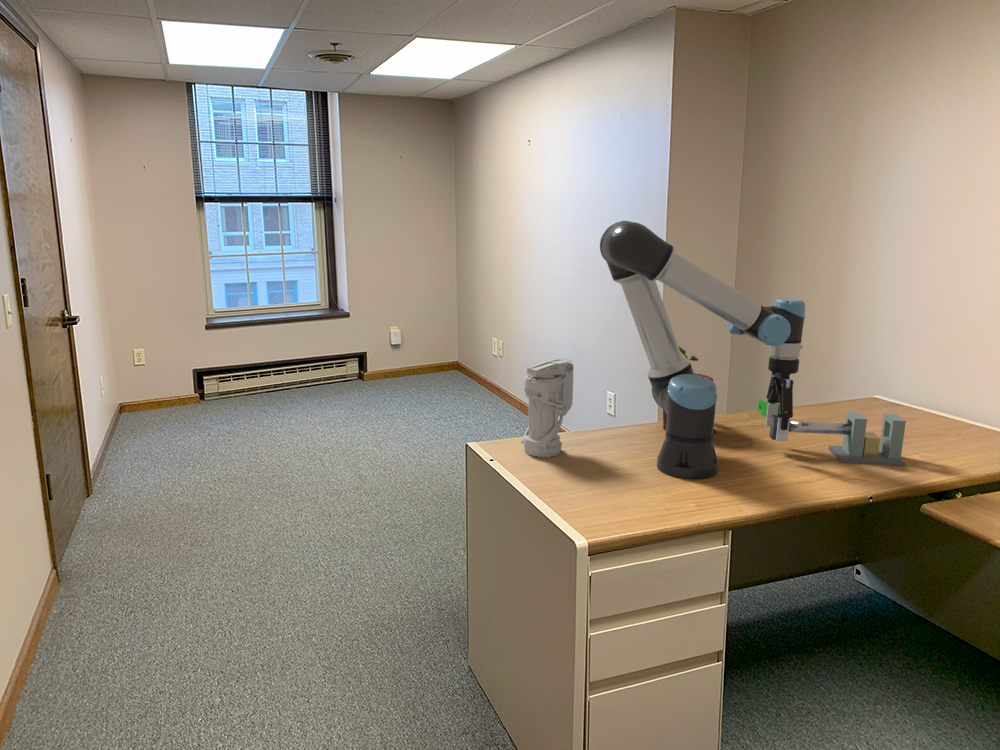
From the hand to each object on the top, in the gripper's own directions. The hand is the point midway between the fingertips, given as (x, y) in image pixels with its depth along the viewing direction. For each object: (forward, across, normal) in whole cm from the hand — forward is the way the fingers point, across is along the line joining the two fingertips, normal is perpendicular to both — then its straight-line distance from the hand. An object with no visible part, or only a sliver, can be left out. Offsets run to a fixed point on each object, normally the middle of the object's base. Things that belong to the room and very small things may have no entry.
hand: (776, 433), depth 198 cm
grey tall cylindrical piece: (+6, -10, +62) cm, 63 cm away
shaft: (+1, 0, -10) cm, 10 cm away
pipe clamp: (+6, +36, -6) cm, 37 cm away
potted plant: (+6, +20, +21) cm, 30 cm away
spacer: (+4, 0, -24) cm, 24 cm away
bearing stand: (+5, 0, -24) cm, 24 cm away
